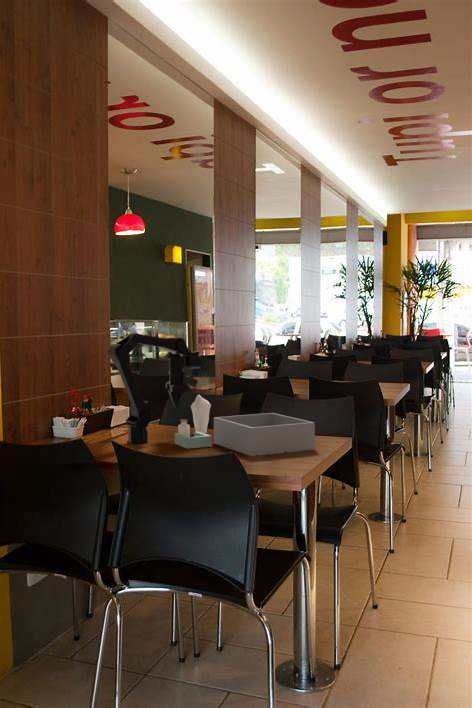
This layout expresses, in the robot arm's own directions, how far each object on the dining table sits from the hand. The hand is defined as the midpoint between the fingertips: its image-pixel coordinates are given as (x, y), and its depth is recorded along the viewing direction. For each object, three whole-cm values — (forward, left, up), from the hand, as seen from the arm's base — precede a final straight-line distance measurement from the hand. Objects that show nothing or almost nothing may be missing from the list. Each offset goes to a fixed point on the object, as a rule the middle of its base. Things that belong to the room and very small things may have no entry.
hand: (176, 408), depth 289 cm
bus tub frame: (+21, -33, -12) cm, 41 cm away
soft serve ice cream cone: (+14, +7, -12) cm, 20 cm away
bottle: (-1, -9, -12) cm, 15 cm away
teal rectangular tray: (-1, -18, -12) cm, 21 cm away
